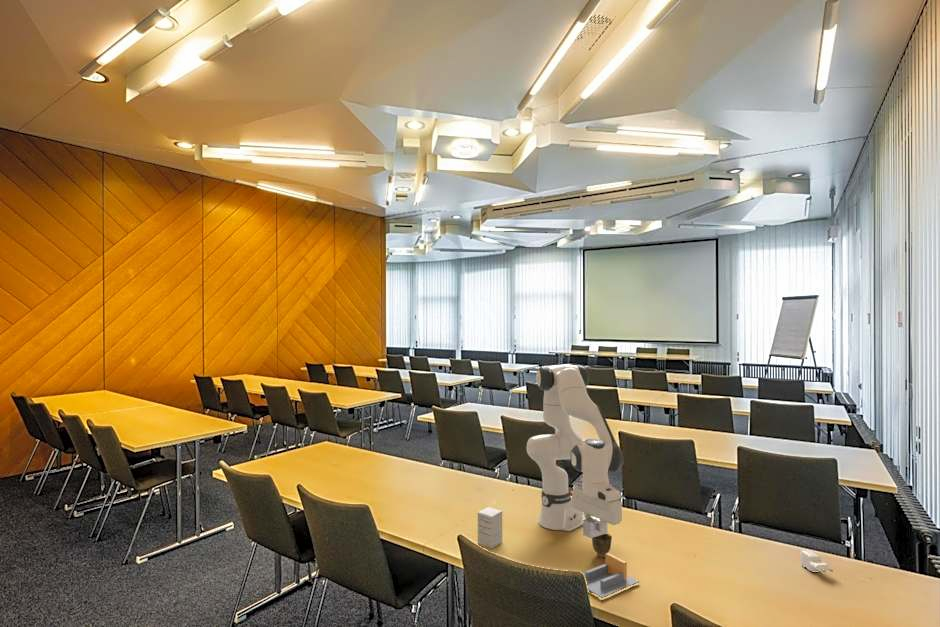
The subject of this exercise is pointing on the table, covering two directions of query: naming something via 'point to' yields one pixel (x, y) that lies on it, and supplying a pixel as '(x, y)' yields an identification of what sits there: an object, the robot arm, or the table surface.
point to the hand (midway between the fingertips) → (595, 529)
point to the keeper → (609, 577)
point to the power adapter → (813, 561)
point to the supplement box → (489, 527)
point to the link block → (592, 527)
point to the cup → (602, 544)
